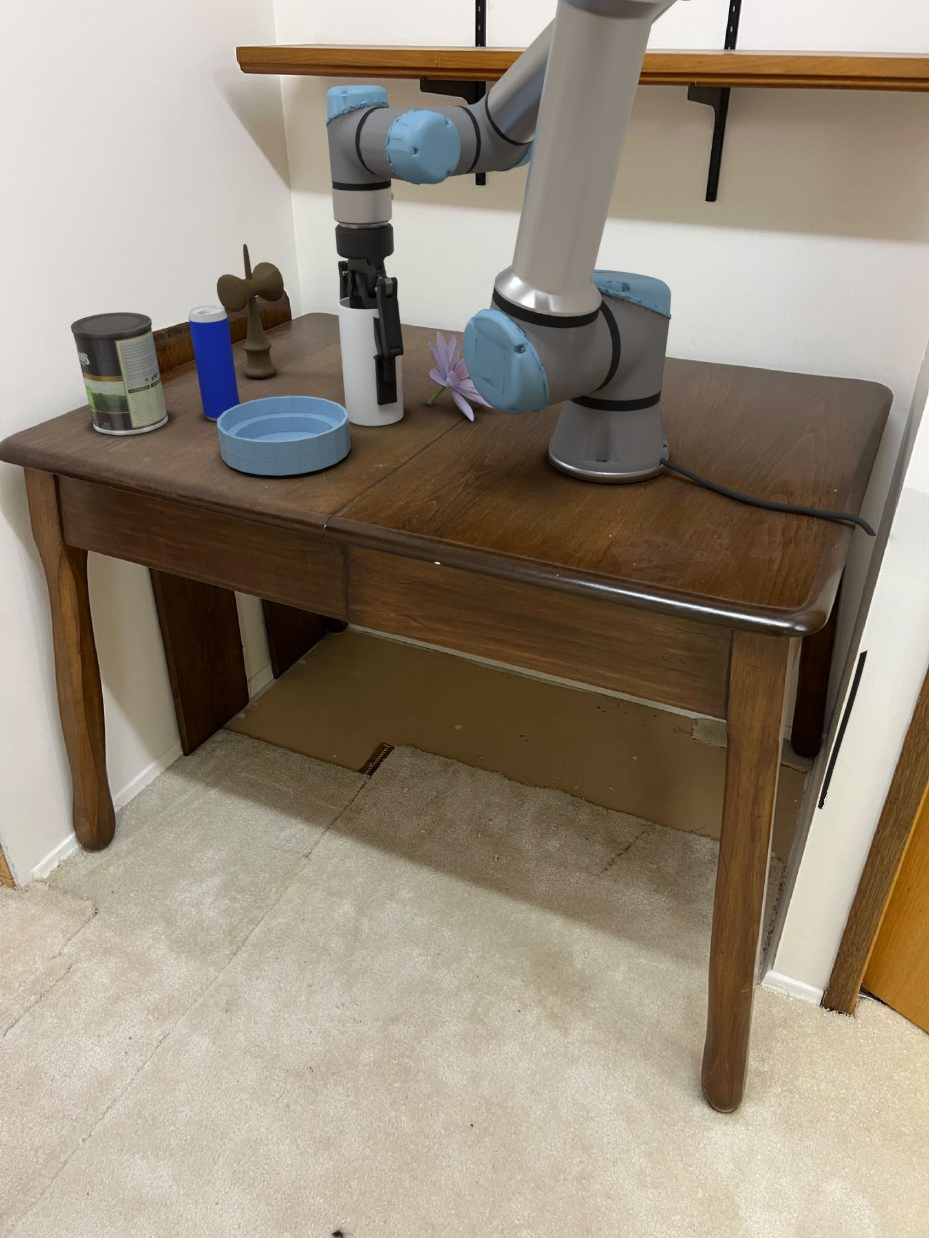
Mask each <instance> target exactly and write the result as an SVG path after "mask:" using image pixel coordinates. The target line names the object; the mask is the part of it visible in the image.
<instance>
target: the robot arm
mask: <svg viewBox="0 0 929 1238" xmlns="http://www.w3.org/2000/svg"><path fill="white" fill-rule="evenodd" d="M681 1H683V2H690V0H681ZM677 2H678V0H557V5H556V10H555V16H554V18H552V20H551V21H550V22H548V24H547V26H546V27H545V28H543V30H541V32H540V33H539V35H537V37H536V38H535V39H533V41H532V42H531V44H529V46H528V47H527V48H525V50H524V51H523V52H522V53H521V54H520V56H519V57H518V58H517V59H516V60H515V61H514V62H513V64H512V65H511V66H510V67H509V68H508V69H507V71H505V72H504V74H503V75H502V76H501V77H500V78H499V79H498V81H497V82H496V83H495V84H494V85H493V86H492V87H491V88H490V89H489V90H488V91H487V92H486V93H485V94H484V96H483V97H482V98H480V100H479V101H478V102H476V103H473V104H463V105H451V106H436V107H435V106H433V107H421V108H397V107H390V103H389V98H388V92H387V90H386V89H385V88H384V87H383V86H380V85H364V84H362V85H360V84H359V85H358V84H357V85H353V84H352V85H337V86H333V87H331V88H330V89H328V91H327V94H326V120H325V121H326V122H325V127H326V130H327V143H328V153H329V155H328V156H329V164H330V165H329V166H330V167H329V168H330V174H331V175H330V178H331V198H332V211H333V213H332V214H333V220H334V221H335V222H336V223H338V224H337V225H336V226H335V227H334V233H335V246H336V247H335V248H336V253H337V255H338V256H339V257H340V258H343V259H345V260H338V262H337V269H338V274H339V275H338V276H339V301H340V300H342V299H344V298H347V297H350V298H349V301H350V308H351V309H362V310H369V309H378V313H379V318H376V317H374V316H373V324H374V339H375V344H376V348H377V353H378V355H375V356H373V358H374V360H375V370H376V388H377V404H378V405H385V404H391V403H396V402H397V384H396V361H395V357H397V356H400V355H401V356H404V353H405V350H404V342H403V333H402V323H401V316H400V305H399V306H398V302H399V299H398V293H399V292H398V291H399V290H398V287H399V283H398V278H397V277H396V276H392V277H391V276H390V277H389V276H387V270H386V265H385V259H386V258H388V257H390V256H391V255H393V254H394V253H395V239H394V237H395V236H394V226H393V225H392V224H391V223H390V221H391V220H392V219H393V200H394V198H395V197H394V196H395V195H394V193H393V192H392V180H396V181H397V180H398V181H402V182H406V183H410V184H411V185H417V186H419V185H437V184H441V183H443V182H444V181H445V180H447V179H448V178H450V177H458V176H463V175H470V174H471V175H472V174H481V173H493V172H497V173H499V172H500V173H501V172H508V171H511V170H513V169H516V168H521V167H524V166H526V165H527V164H528V170H527V175H526V176H527V177H526V182H525V188H524V192H523V199H522V205H521V209H520V216H519V222H518V228H517V233H516V240H515V245H514V251H513V257H512V261H511V265H509V266H507V267H506V268H504V269H503V270H501V271H499V273H498V274H497V275H496V276H495V277H494V282H493V283H494V284H493V289H492V294H491V301H490V305H489V308H482V309H480V310H479V311H477V312H476V313H475V314H474V316H471V317H470V318H469V320H467V322H466V325H465V327H464V331H463V334H462V354H463V356H464V361H465V365H466V368H467V371H468V374H469V376H470V377H469V376H468V377H469V378H470V379H472V382H473V385H474V387H475V388H476V390H477V391H478V393H479V394H480V395H481V397H482V398H483V399H484V400H485V401H486V402H487V403H488V404H489V405H490V406H492V407H493V408H492V409H495V410H496V411H497V412H499V413H502V414H505V415H511V416H516V415H517V416H518V415H522V414H526V413H538V412H540V411H541V410H544V409H545V408H548V407H550V406H553V405H557V404H559V403H563V402H564V404H563V406H562V409H561V412H560V414H559V418H558V420H557V423H556V426H555V429H554V432H553V434H552V435H551V437H550V440H549V445H548V461H549V463H550V465H551V466H552V467H553V468H554V469H556V470H557V471H558V472H560V473H562V474H564V475H566V476H569V477H571V478H575V479H578V480H581V481H582V480H583V481H586V482H591V483H599V484H630V483H637V482H643V481H646V480H651V479H653V478H655V477H657V476H659V475H660V474H662V473H664V472H665V470H666V469H667V468H669V469H671V470H673V471H675V472H677V473H679V474H681V475H683V476H685V477H687V478H688V479H690V480H693V481H694V482H696V483H698V484H700V485H702V486H704V487H706V488H708V489H711V490H713V491H715V492H718V493H720V494H723V495H725V496H727V497H730V498H733V499H736V500H738V501H741V502H745V503H749V504H751V505H755V506H759V507H763V508H768V509H774V510H780V511H787V512H792V513H793V512H794V513H795V512H796V513H800V514H801V513H802V514H807V515H813V516H817V517H820V518H821V517H822V518H826V519H832V520H842V521H847V522H852V523H854V524H856V525H858V526H859V527H861V528H862V529H863V531H864V532H865V533H866V534H867V535H868V536H870V537H877V534H876V532H875V530H874V529H873V528H872V527H871V525H870V524H869V523H868V522H867V521H865V520H864V519H863V518H862V517H860V516H857V515H855V514H850V513H846V512H836V511H828V510H822V509H818V508H814V507H809V506H803V505H796V504H787V503H780V502H775V501H770V500H764V499H761V498H756V497H752V496H750V495H746V494H742V493H740V492H737V491H734V490H732V489H729V488H726V487H724V486H722V485H719V484H717V483H714V482H712V481H710V480H708V479H706V478H704V477H701V476H700V475H698V474H696V473H694V472H693V471H690V470H688V469H686V468H685V467H682V466H680V465H678V464H676V463H674V462H672V461H670V460H669V457H670V452H669V451H670V447H669V441H668V440H667V432H666V428H665V422H664V418H663V414H662V409H661V396H662V389H663V388H662V387H663V378H664V371H665V362H666V354H667V345H668V336H669V328H670V321H671V320H672V314H671V307H672V291H671V288H670V287H669V285H668V284H667V283H666V281H663V280H662V279H659V278H656V277H654V276H649V275H645V274H641V273H640V274H639V273H635V272H629V271H621V270H620V271H619V270H610V269H596V264H597V260H598V255H599V251H600V247H601V242H602V239H603V234H604V230H605V226H606V221H607V217H608V213H609V209H610V206H611V201H612V197H613V192H614V187H615V184H616V179H617V175H618V170H619V166H620V162H621V158H622V153H623V149H624V145H625V142H626V137H627V133H628V129H629V123H630V120H631V115H632V111H633V107H634V102H635V98H636V94H637V90H638V85H639V81H640V77H641V72H642V68H643V64H644V61H645V60H644V59H645V56H646V52H647V47H648V43H649V39H650V34H651V30H652V25H654V23H656V22H657V21H658V20H659V19H660V18H661V17H662V16H663V15H664V14H666V12H667V11H668V10H669V9H670V8H672V6H673V5H675V3H677ZM371 299H373V300H371ZM868 651H869V650H868V649H867V650H864V651H862V652H860V653H859V656H858V660H857V664H856V669H855V673H854V676H853V680H852V683H851V686H850V691H849V695H848V698H847V702H846V705H845V709H844V712H843V715H842V719H841V720H840V725H839V729H838V731H837V735H836V738H835V742H834V745H833V747H832V752H831V754H830V758H829V762H828V765H827V768H826V772H825V776H824V780H823V784H822V786H821V787H822V788H821V791H820V795H821V796H819V799H820V800H818V803H817V808H818V809H819V810H823V809H822V807H823V805H824V806H825V804H824V799H825V797H826V798H827V796H828V792H827V790H828V791H829V788H830V785H831V781H832V777H833V773H834V770H835V767H836V763H837V760H838V756H839V753H840V749H841V746H842V743H843V740H844V737H845V733H846V731H847V726H848V724H849V720H850V717H851V714H852V710H853V707H854V703H855V700H856V696H857V694H858V690H859V688H860V687H859V686H860V683H861V680H862V675H863V672H864V667H865V664H866V660H867V656H868ZM826 795H827V796H826Z"/></svg>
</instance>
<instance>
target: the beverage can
mask: <svg viewBox="0 0 929 1238" xmlns="http://www.w3.org/2000/svg"><path fill="white" fill-rule="evenodd" d="M188 324H189V329H190V336H191V342H192V348H193V349H192V350H193V355H194V362H195V366H196V372H197V373H196V374H197V380H198V386H199V390H200V391H199V392H200V398H201V404H202V405H201V406H202V411H203V415H204V417H206V419H208V420H210V421H212V422H217V419H218V418H219V417H220V416H221V415H222V413H223V412H225V411H227V410H228V409H230V408H232V407H234V406H236V405H239V404H241V403H240V397H239V389H238V382H237V375H236V368H235V359H234V353H233V346H232V339H231V332H230V324H229V317H228V314H227V312H226V308H225V307H223V306H219V305H202V306H197V307H193V308H191V309H190V310H189V314H188Z"/></svg>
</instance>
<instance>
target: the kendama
mask: <svg viewBox="0 0 929 1238" xmlns="http://www.w3.org/2000/svg"><path fill="white" fill-rule="evenodd" d="M242 256H243V265H244V266H243V267H244V276H245V277H244V278H240V277H239V276H236V275H233V274H230V273H228V274H227V273H226V274H222V275H220V276H219V277H218V278H217V282H216V293H217V297H218V301H219V302H220V304H221V307H223V308H224V309H225V310H226V311H229V312H232V313H240V312H241V311H243V310H244V309H245V308H246V307H247V328H246V329H247V330H246V331H247V332H246V340H245V343H244V344H243V345H242V347H241V348H242V350H243V351H244V352H245V354H246V359H247V361H246V366H245V368H244V370H243V374H244V375H245V376H246V377H249V378H253V379H263V378H268V377H271V376H273V375H275V374H276V373H277V371H278V369H277V367H276V365H274V363H273V361H272V358H271V353H270V352H271V349H272V347H273V344H272V343H271V342H270V341H269V340H268V339H267V337H266V334H265V331H264V328H263V324H262V320H261V315H260V311H259V308H258V302H257V297H258V298H260V299H261V300H264V301H267V302H269V303H275V302H278V301H279V300H281V299H282V298H283V295H284V291H285V283H284V278H283V275H282V273H281V271H280V270H279V268H278V267H277V266H276V265H274V264H273V263H270V262H268V261H262V262H258V263H257V264H256V265H255V266H254V268H253V270H252V266H251V260H250V253H249V248H248V245H247V244H246V243H243V245H242Z"/></svg>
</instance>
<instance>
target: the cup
mask: <svg viewBox="0 0 929 1238" xmlns="http://www.w3.org/2000/svg"><path fill="white" fill-rule="evenodd" d="M349 298H350V297H347V298H344V299H342V300H340V299H339V301H337V312H338V325H339V326H338V327H339V338H340V353H341V366H342V367H341V368H342V378H343V392H344V404H345V405H344V406H345V409H347V412H348V416H349V423H352V424H355V425H359V426H365V427H379V426H386V425H390V424H391V425H392V424H394V423H397V422H399V421H400V420H402V419H403V417H404V396H403V395H404V393H403V373H402V372H403V371H402V369H403V368H402V355H400V356H397V357H395V361H396V384H397V402H396V403H391V404H385V405H378V404H377V388H376V370H375V360H374V358H373V356H375V355H378V353H377V348H376V344H375V339H374V324H373V316H374V317H376V318H379V313H378V309H369V310H362V309H351V308H350V301H349ZM371 300H373V299H371ZM398 306H399V307H400V303H399V301H398Z"/></svg>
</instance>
